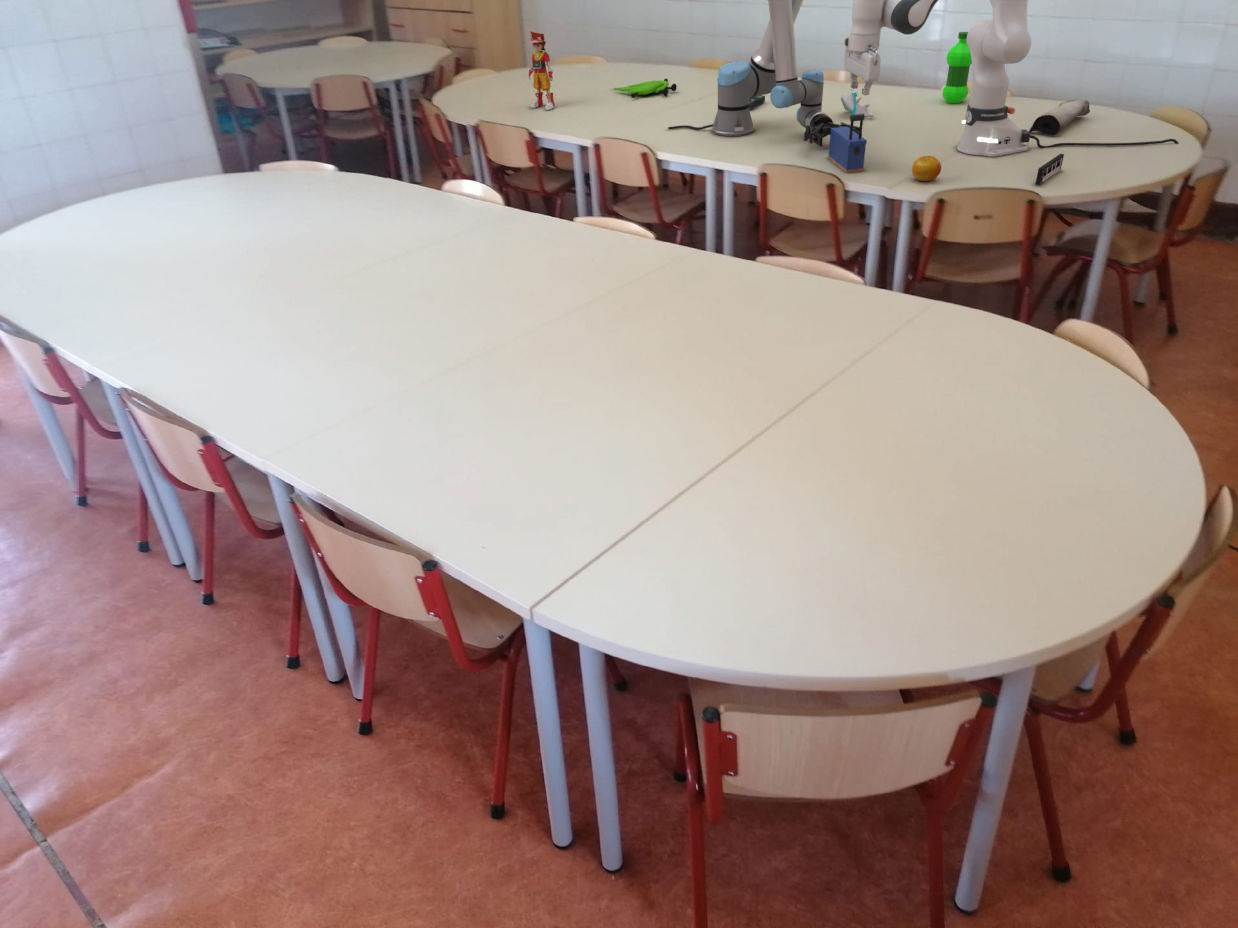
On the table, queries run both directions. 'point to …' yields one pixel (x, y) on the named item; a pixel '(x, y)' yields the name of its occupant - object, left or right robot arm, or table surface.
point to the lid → (851, 131)
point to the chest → (846, 154)
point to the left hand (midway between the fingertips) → (841, 140)
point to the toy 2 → (648, 88)
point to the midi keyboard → (1049, 169)
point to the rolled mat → (1060, 117)
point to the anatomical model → (854, 104)
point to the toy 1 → (541, 71)
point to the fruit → (926, 168)
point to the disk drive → (756, 101)
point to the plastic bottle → (958, 71)
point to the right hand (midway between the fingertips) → (859, 91)
